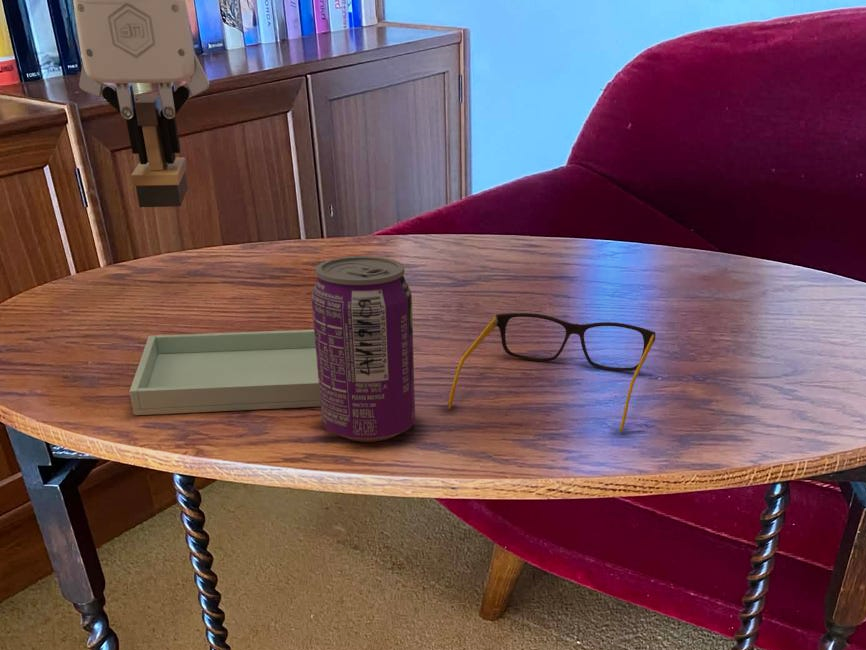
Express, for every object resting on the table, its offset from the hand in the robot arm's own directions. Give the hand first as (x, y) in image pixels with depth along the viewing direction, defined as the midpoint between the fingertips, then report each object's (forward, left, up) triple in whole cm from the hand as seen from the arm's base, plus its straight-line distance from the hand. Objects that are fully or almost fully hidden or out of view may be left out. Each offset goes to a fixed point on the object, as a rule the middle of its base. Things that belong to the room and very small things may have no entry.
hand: (158, 160), depth 97 cm
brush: (0, 0, -4) cm, 4 cm away
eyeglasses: (+34, -35, -12) cm, 50 cm away
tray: (+9, -30, -12) cm, 33 cm away
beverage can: (+18, -41, -12) cm, 46 cm away
